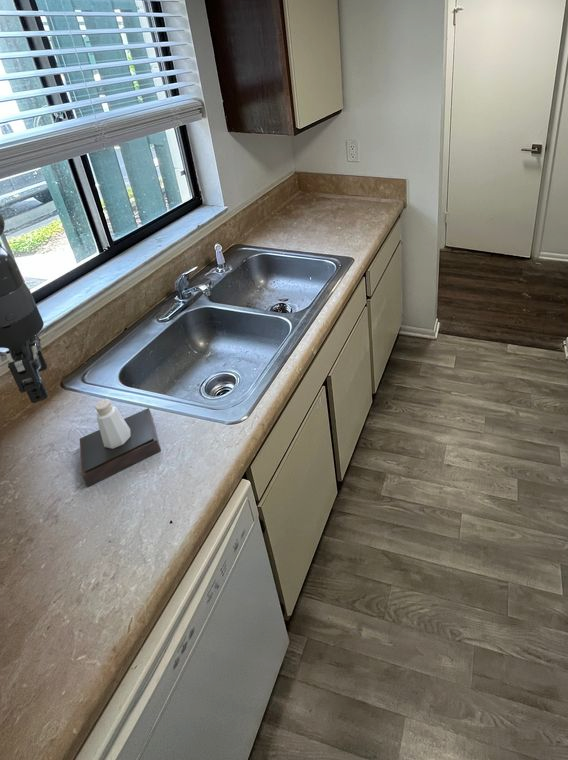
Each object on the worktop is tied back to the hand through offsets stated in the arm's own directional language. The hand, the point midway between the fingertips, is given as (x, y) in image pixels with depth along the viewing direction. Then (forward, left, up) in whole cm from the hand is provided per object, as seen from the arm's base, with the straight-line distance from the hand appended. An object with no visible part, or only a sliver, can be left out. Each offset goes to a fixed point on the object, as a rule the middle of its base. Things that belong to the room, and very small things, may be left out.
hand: (40, 384), depth 79 cm
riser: (+6, +6, -29) cm, 31 cm away
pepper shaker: (+6, +6, -26) cm, 27 cm away
